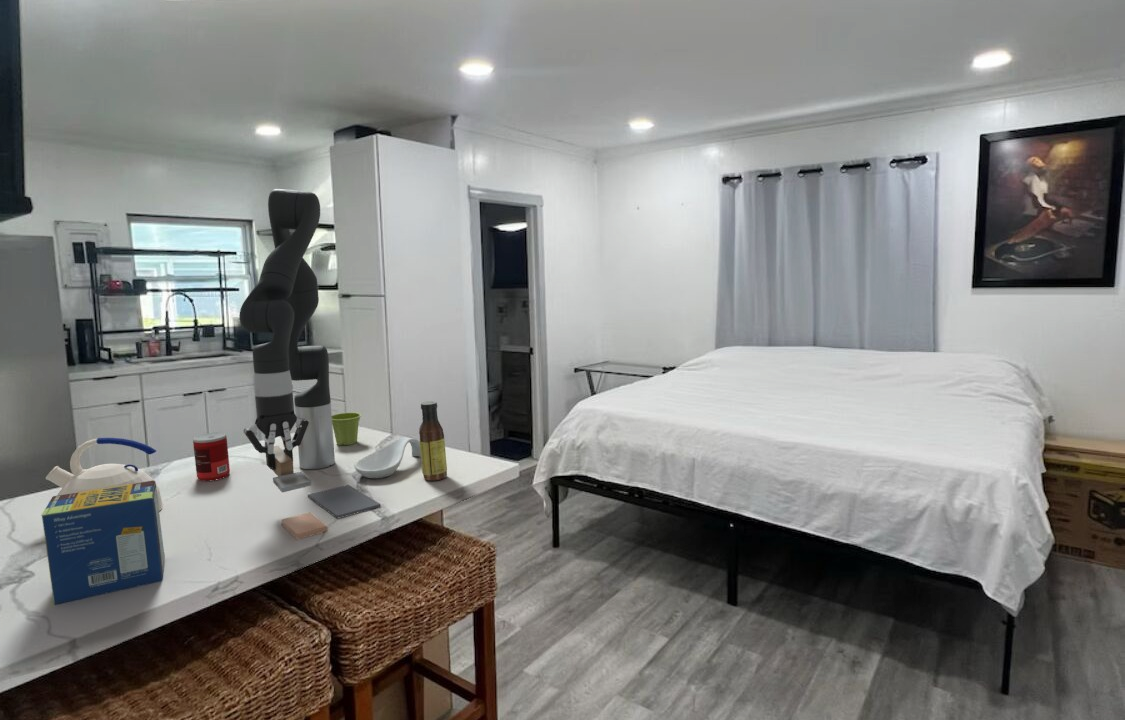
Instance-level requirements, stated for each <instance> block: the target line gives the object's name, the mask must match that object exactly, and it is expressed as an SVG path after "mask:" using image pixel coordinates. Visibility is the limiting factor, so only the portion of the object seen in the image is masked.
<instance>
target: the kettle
mask: <svg viewBox="0 0 1125 720" xmlns="http://www.w3.org/2000/svg"><path fill="white" fill-rule="evenodd" d="M109 444H110V445H119V446H126V447H131V448H134V449H137V450H140V451H141V452H143V453H145V454H147V455H152V454H154V453H155V454H156V452H157V449H154V448H153V447H152V446H149V445H147V444H145V443H142V442H139V441H137V440H132V439H127V438H120V437H119V438H118V437H98V438H93V439H90V440H87V441H85V442H83V443H82V444H80V445H78V446H77V447H76V449H75V451H73V453H72V455H71V457H70V461H69V465H70V466H69V467H70V471H71V472H69V471H68V470H65V469H64V468H63V469H62V468H61V467H60V466H59V465H57V466H54V467H53V468H52V470H50V472H48V474H47V475H46V476H45V480H47V481H49V482H51V483H53V484H54V485H56V486H58V487H60V488H61V489H60V490H59V492H58V493H57V494H56V496H58V495H65V494H72V493H78V492H84V491H90V490H96V489H103V488H110V487H116V486H122V485H128V484H135V483H141V482H147V481H154V479H153V478H152V477H151V476H150V475H148V474H147V473H146V472H145V471H143V470H142V469H140V468H138V467H137V466H136V465H134V464H123V463H104V464H98V465H96V466H92V467H90V468H88V469H86V468H84V469H83V467H82V466H81V457H82V456H81V455H82V454H83V453H84V452H85V450H87V449H88V448H90V447H91V446H95V445H109ZM156 490H157V498H158V507H159V512H160V511H161V510H162V509H163V507H164V504H163V501H162V495H161V492H160V487H159V486H158V485H157V484H156Z"/></svg>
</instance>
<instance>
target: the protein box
mask: <svg viewBox="0 0 1125 720" xmlns="http://www.w3.org/2000/svg"><path fill="white" fill-rule="evenodd" d="M156 485H157V483H156V481H155V480H153V481H147V482H141V483H135V484H128V485H122V486H116V487H110V488H103V489H96V490H90V491H84V492H78V493H72V494H65V495H58V494H57V495H58V496H57V495H54V496H53V495H52V497H51V498H50V500H49V502H48V504H47V505H46V507H45V509H44V510H43V512H42V513H41V520H42V527H43V533H44V540H45V547H46V548H45V549H46V554H47V563H48V569H49V570H48V571H49V578H50V584H51V586H50V587H51V592H52V599H53V604H54V605H59V604H63V603H68V602H72V601H76V600H77V601H78V600H81V599H86V598H92V597H96V596H100V595H104V594H105V595H106V594H109V593H113V592H117V591H121V590H122V591H123V590H127V589H131V588H132V589H133V588H137V587H141V586H145V585H149V584H154V583H158V582H162V581H163V580H164V569H165V561H166V560H165V559H166V556H165V555H166V554H165V548H164V541H163V531H162V525H161V517H160V511H159V507H158V498H157V490H156Z"/></svg>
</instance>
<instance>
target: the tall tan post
mask: <svg viewBox="0 0 1125 720" xmlns="http://www.w3.org/2000/svg"><path fill="white" fill-rule="evenodd" d="M273 453H274V454H275V466H276V469H275V470H272V472H273V473H274V474H275V475H276V476H275V477H274V476H273V477H272V483H273V484H274V485H275V486H276V487H277V489H278V490H279V491H280V492H281V493H287V492H290V491H296V490H298V489H302V488H306V487H307V488H308V487H312V480H311V479H310V478H309V477H308V476H307V475H306V473H304V472H303V471H298V472H294V459H293V460H292V459H291V458H290V457H289V456H288V455H287V454H286V453H285V452H284V451H283V449H282V448H281V447H280V446H279V445H274V451H273Z"/></svg>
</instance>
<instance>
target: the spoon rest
mask: <svg viewBox="0 0 1125 720" xmlns="http://www.w3.org/2000/svg"><path fill="white" fill-rule="evenodd" d="M409 443H410V446H411V456H412V455H413V456H412V457H415V456H419V457H418V458H421V449H420V439H418V438H417V439H416V438H410V437H399V438H396V439H395V440H393V441H392V442H389V443H388V444H386V445H385V446H383V447H382V448H381V447H380V448H379V449H378V450H376V451H374V452H372V453H370V454H368V455H367V456H364V457H362V458H361V459H358V461H356V462H355V464H354V469H355V471H356V472H357V473H358V474H359V475H361V476H363V477H366V478H368V479H384V478H387V477H390V476H391V475H392V474H394V472H396V471H397V470H398V468H399V467H400V465H401V462H402V460H403V457H404V453H405V451H406V450H405V449H406V447H407V445H408V444H409ZM389 475H390V476H389ZM383 477H384V478H383Z"/></svg>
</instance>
